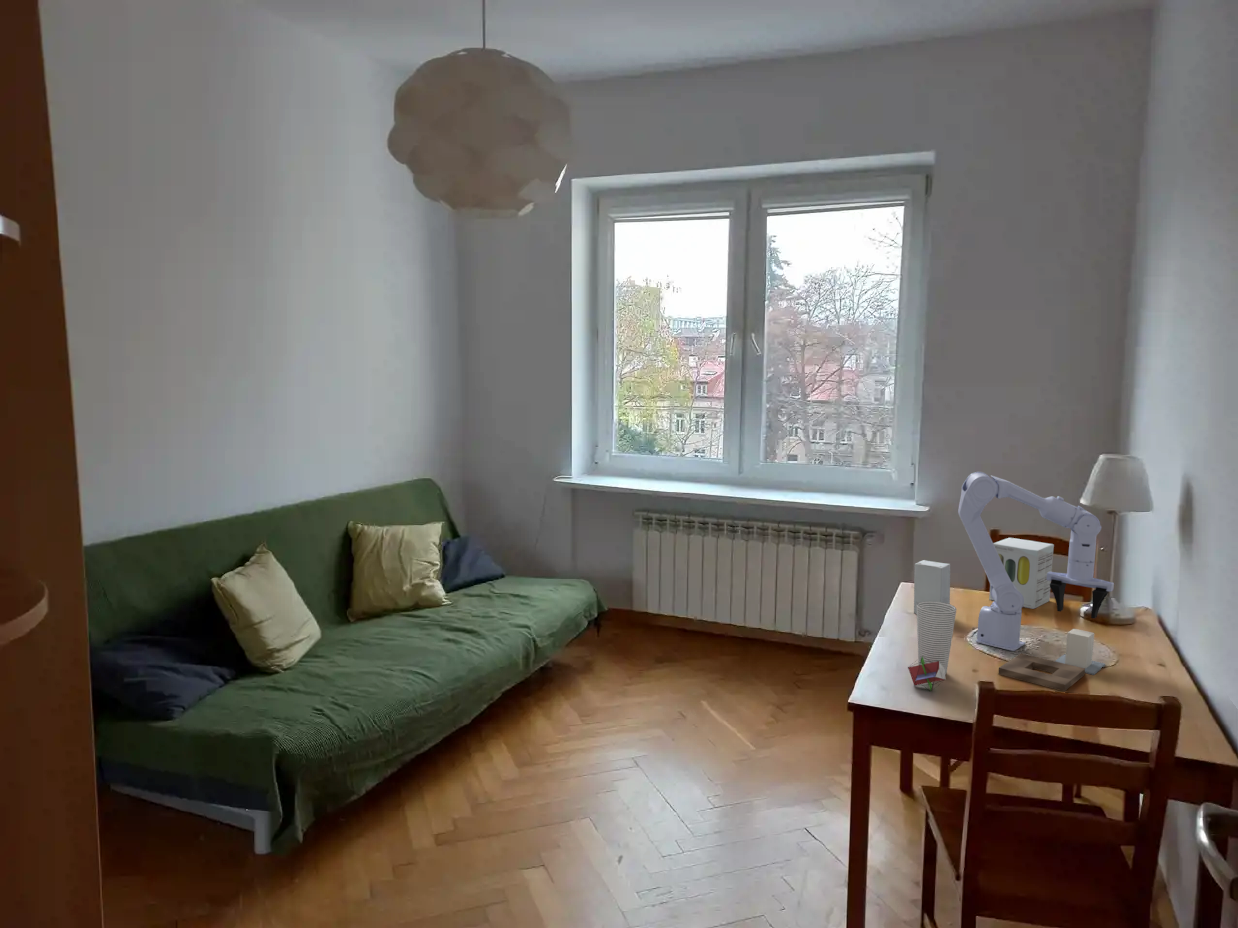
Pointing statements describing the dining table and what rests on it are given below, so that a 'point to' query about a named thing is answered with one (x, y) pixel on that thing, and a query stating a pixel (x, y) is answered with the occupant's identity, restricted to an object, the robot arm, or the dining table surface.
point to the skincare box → (931, 582)
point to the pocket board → (1058, 680)
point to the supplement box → (1027, 568)
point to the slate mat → (1090, 669)
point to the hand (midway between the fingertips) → (1076, 613)
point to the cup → (935, 631)
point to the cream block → (1079, 648)
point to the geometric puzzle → (927, 673)
